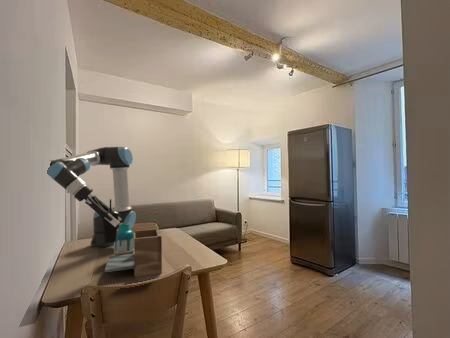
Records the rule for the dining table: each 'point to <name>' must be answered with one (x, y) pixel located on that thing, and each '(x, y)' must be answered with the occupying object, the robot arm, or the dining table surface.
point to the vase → (124, 240)
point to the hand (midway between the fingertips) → (118, 223)
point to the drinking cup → (110, 227)
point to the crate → (141, 255)
